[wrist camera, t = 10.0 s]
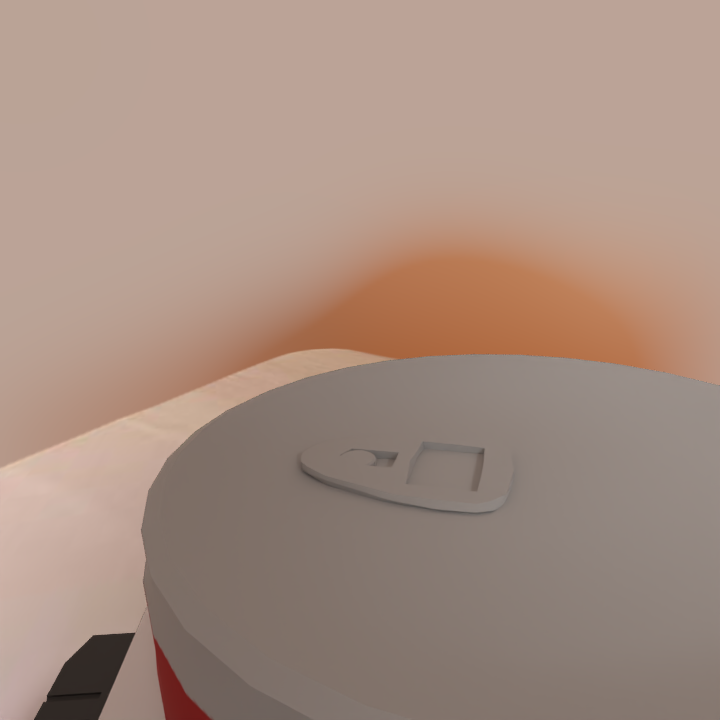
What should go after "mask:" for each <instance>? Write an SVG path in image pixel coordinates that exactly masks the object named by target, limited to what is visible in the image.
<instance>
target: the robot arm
mask: <svg viewBox="0 0 720 720" xmlns="http://www.w3.org/2000/svg"><path fill="white" fill-rule="evenodd" d="M34 720H166V719H165V714H164V708H163V703H162V697H161V692H160V686H159V681H158V675H157V665H156V652H155V645H154V639H153V634H152V628H151V623H150V617H149V612H148V606H147V607H146V610H145V612H144V614H143V617H142V619H141V621H140V624H139V626H138V628H137V631H136V633H124V634H108V635H93V636H92V637H91V638H90V639H89V640H88V641H87V642H86V643H85V644H84V645H83V646H82V647H81V648H80V649H79V650H78V651H77V652H76V653H75V654H74V655H73V656H72V657H71V658H70V659H69V660H68V661H67V662H66V663H65V664H64V666H63V667H62V669H61V671H60V673H59V675H58V677H57V678H56V680H55V682H54V684H53V686H52V688H51V689H50V691H49V693H48V695H47V701H46V702H43V704H42V706H41V708H40V710H39V711H38V713H37V715H36V717H35V719H34Z"/></svg>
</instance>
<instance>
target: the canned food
mask: <svg viewBox="0 0 720 720" xmlns="http://www.w3.org/2000/svg"><path fill="white" fill-rule="evenodd" d="M141 532H142V537H143V543H144V549H145V554H146V564H145V571H144V579H143V584H144V590H145V595H146V601H147V606H148V612H149V617H150V623H151V628H152V634H153V639H154V645H155V652H156V665H157V675H158V681H159V686H160V692H161V697H162V703H163V708H164V714H165V719H166V720H720V385H715V384H711V383H707V382H703V381H699V380H695V379H690V378H686V377H681V376H677V375H673V374H669V373H665V372H659V371H653V370H648V369H641V368H637V367H631V366H625V365H619V364H613V363H605V362H596V361H587V360H580V359H571V358H560V357H544V356H528V355H489V354H486V355H485V354H471V355H447V356H429V357H419V358H409V359H399V360H389V361H383V362H377V363H371V364H365V365H359V366H353V367H347V368H343V369H339V370H335V371H331V372H327V373H323V374H319V375H315V376H311V377H307V378H304V379H301V380H298V381H296V382H293V383H290V384H287V385H284V386H281V387H278V388H275V389H272V390H270V391H267V392H265V393H263V394H261V395H259V396H256V397H254V398H252V399H250V400H248V401H246V402H244V403H242V404H240V405H237V406H235V407H233V408H231V409H229V410H227V411H225V412H224V413H222V414H221V415H219V416H218V417H216V418H215V419H213V420H212V421H210V422H209V423H207V424H206V425H204V426H203V427H201V428H200V429H198V430H197V431H195V432H194V433H193V434H192V435H191V436H190V437H189V438H188V439H187V440H186V441H185V442H184V443H183V444H182V445H181V446H180V447H179V448H178V449H177V450H176V451H175V452H174V453H173V454H172V455H171V456H170V457H169V458H168V459H167V461H166V462H165V464H164V466H163V467H162V469H161V471H160V472H159V474H158V476H157V477H156V479H155V481H154V483H153V484H152V486H151V488H150V489H149V491H148V497H147V502H146V507H145V513H144V518H143V523H142V529H141Z"/></svg>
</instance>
